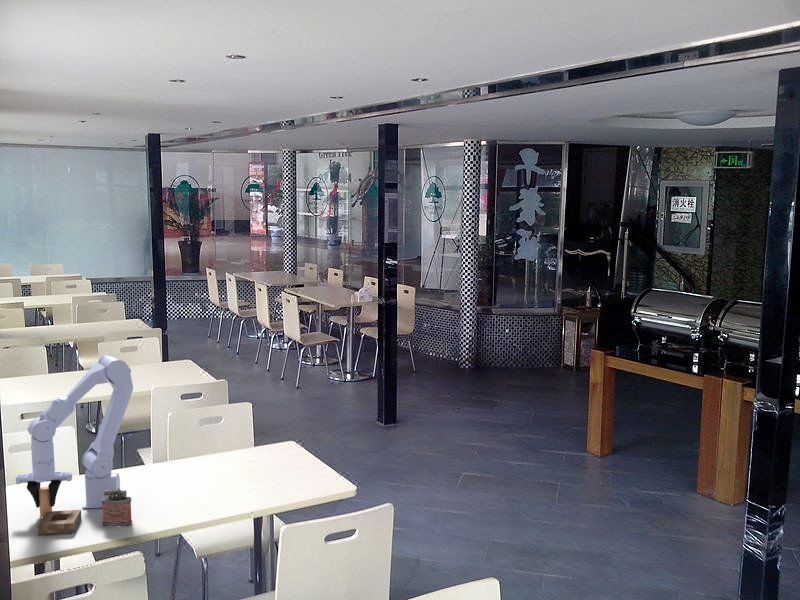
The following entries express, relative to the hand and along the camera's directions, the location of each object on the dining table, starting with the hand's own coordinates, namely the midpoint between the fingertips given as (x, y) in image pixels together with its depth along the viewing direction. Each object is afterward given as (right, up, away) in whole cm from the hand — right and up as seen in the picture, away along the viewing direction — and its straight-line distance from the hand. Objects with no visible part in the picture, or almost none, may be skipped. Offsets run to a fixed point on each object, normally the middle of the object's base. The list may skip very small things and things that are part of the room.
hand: (45, 505), depth 217 cm
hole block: (+7, -4, -7) cm, 11 cm away
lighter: (+22, -4, -5) cm, 23 cm away
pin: (0, -3, 0) cm, 3 cm away
